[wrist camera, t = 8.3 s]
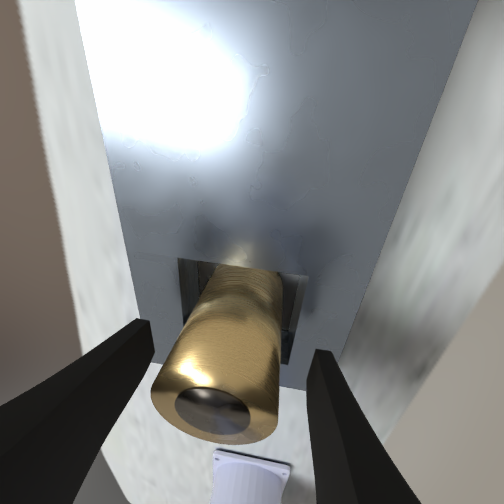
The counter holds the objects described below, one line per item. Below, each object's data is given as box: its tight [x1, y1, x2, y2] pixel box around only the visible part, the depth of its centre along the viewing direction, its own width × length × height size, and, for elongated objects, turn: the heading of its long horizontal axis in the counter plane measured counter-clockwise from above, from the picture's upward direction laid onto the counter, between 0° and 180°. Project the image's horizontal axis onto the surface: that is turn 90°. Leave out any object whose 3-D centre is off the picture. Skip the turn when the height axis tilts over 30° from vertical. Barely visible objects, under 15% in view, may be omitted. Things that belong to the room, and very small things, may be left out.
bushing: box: [151, 264, 283, 445], centre depth 11 cm, size 4×4×7 cm
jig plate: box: [75, 0, 478, 391], centre depth 9 cm, size 20×11×5 cm, turn 176°
